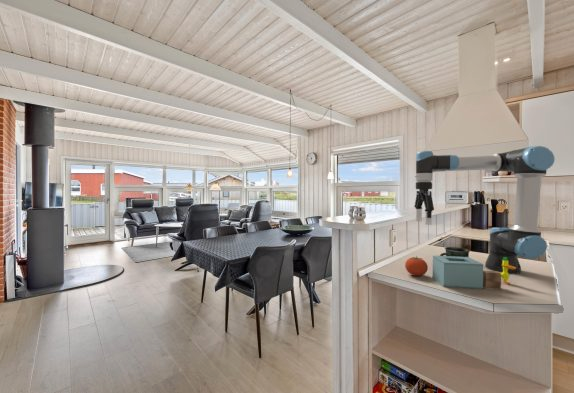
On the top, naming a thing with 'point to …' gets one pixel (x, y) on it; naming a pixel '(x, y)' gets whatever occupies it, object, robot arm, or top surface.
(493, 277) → the brown wooden block
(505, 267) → the toy figure
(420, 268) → the tomato
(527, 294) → the top surface
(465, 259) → the coin box
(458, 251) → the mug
